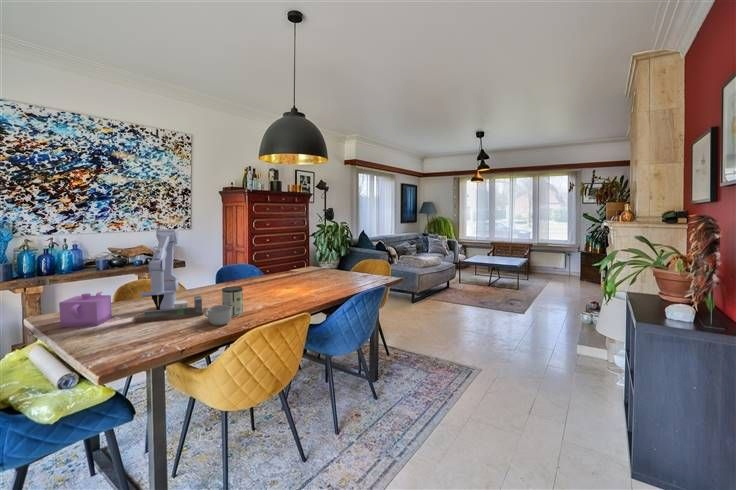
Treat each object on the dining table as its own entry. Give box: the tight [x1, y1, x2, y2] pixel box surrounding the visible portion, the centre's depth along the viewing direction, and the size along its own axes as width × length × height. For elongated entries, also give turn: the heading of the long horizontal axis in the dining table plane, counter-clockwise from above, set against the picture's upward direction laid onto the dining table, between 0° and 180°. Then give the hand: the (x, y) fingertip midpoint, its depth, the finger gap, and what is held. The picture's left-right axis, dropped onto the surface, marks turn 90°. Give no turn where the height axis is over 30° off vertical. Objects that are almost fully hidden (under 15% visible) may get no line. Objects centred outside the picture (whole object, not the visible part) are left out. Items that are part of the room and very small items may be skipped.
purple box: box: [58, 291, 113, 328], centre depth 173 cm, size 15×25×14 cm, turn 11°
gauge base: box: [134, 294, 204, 324], centre depth 185 cm, size 12×30×8 cm, turn 119°
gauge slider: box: [173, 300, 188, 309], centre depth 186 cm, size 9×6×5 cm
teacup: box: [202, 304, 232, 327], centre depth 175 cm, size 14×11×8 cm
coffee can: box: [221, 286, 244, 318], centre depth 190 cm, size 10×10×14 cm
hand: (158, 309), depth 183 cm, fingers closed
